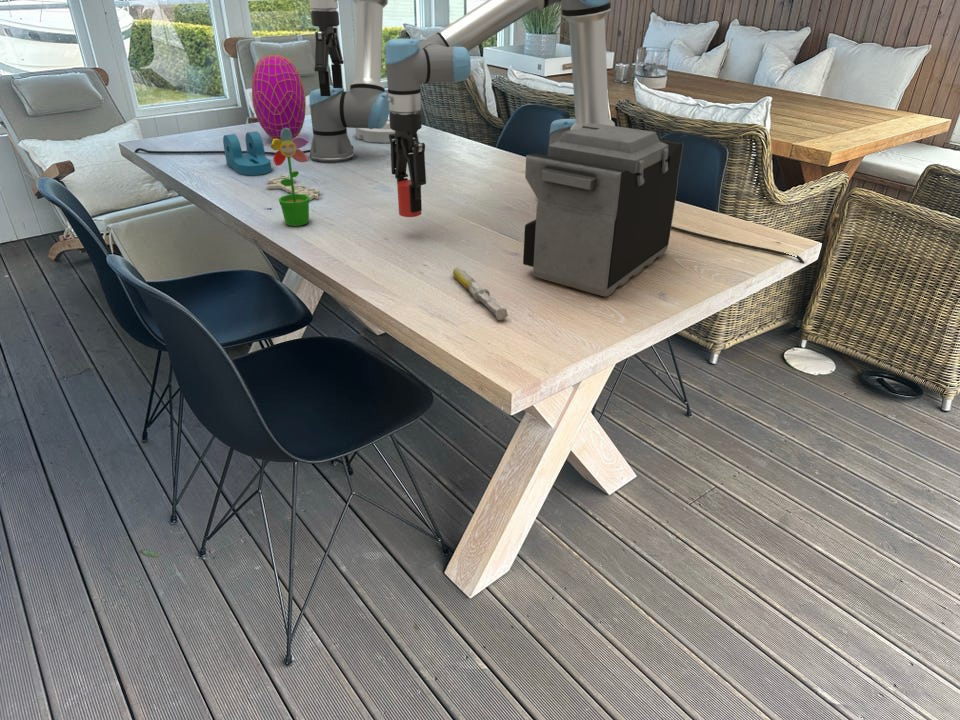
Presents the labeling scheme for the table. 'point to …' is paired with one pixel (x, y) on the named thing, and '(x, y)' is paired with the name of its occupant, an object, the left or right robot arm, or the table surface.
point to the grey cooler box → (601, 206)
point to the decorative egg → (278, 96)
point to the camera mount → (246, 154)
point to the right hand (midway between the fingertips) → (409, 207)
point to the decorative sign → (297, 188)
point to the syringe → (479, 293)
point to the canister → (405, 199)
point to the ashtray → (375, 133)
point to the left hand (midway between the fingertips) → (332, 92)
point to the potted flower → (291, 178)
